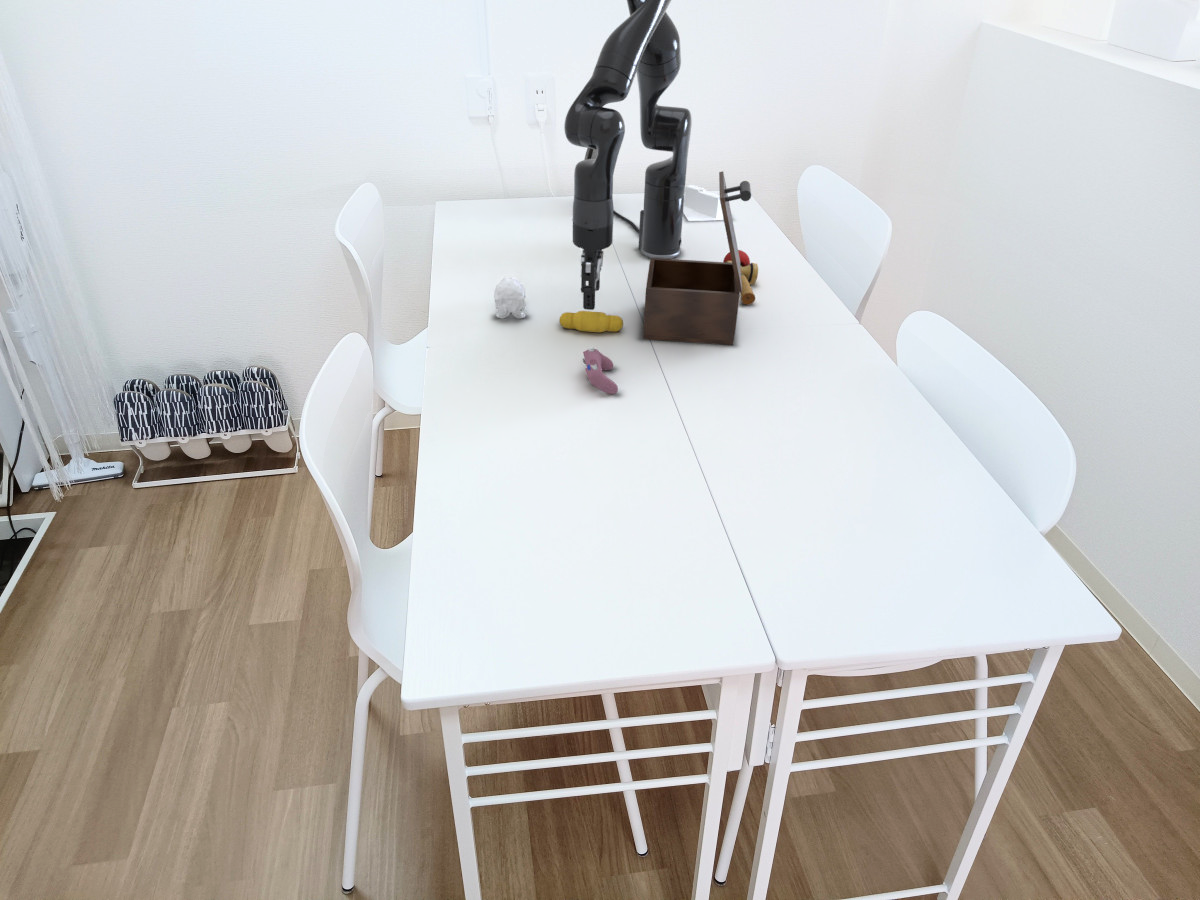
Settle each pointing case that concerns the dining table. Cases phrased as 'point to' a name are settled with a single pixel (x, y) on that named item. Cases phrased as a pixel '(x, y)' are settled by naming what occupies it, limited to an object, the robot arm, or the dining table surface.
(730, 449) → the dining table surface
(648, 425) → the dining table surface
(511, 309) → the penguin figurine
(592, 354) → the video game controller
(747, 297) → the kendama
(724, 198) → the lid
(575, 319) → the yellow lobed rod
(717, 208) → the napkin holder
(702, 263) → the toy chest
